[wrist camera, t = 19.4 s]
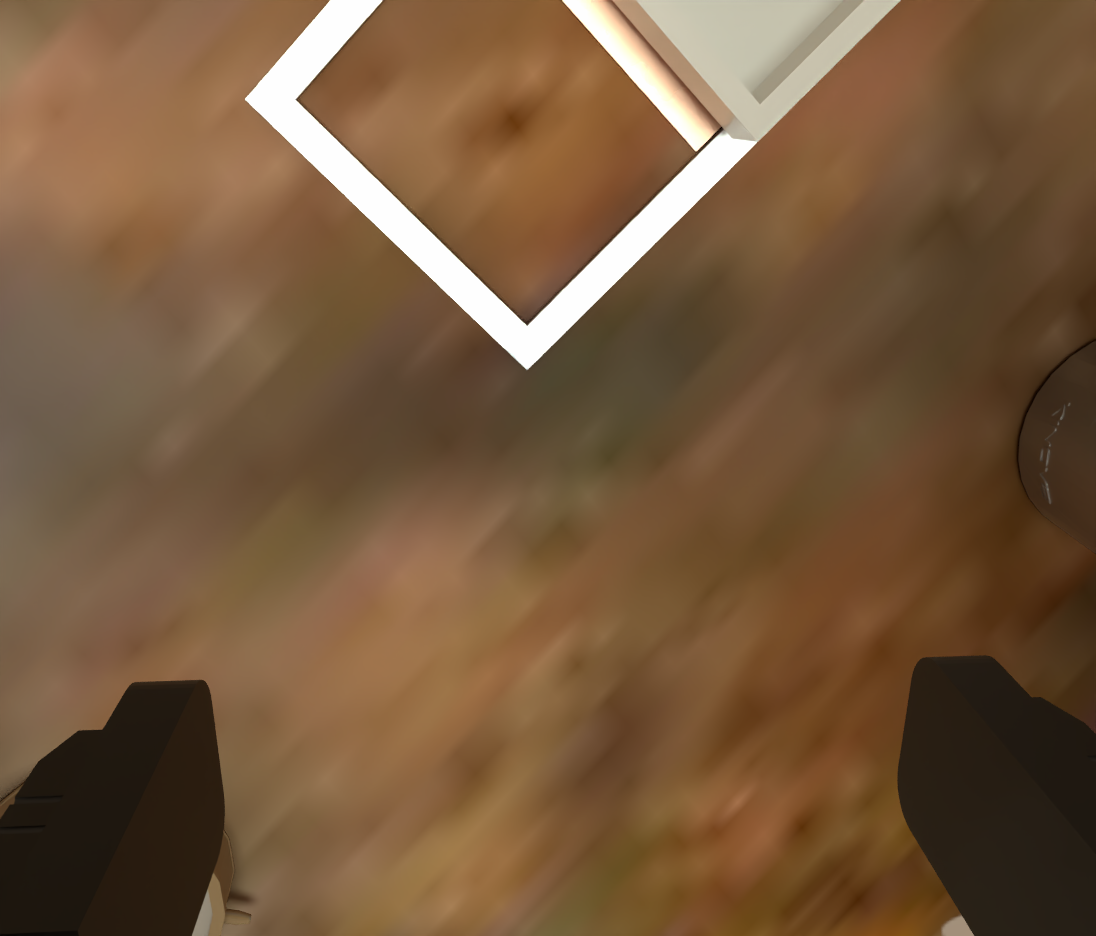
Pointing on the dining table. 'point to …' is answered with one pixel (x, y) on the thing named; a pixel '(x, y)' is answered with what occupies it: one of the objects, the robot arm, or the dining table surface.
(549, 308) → the track
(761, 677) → the dining table surface
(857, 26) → the shallow white tray
